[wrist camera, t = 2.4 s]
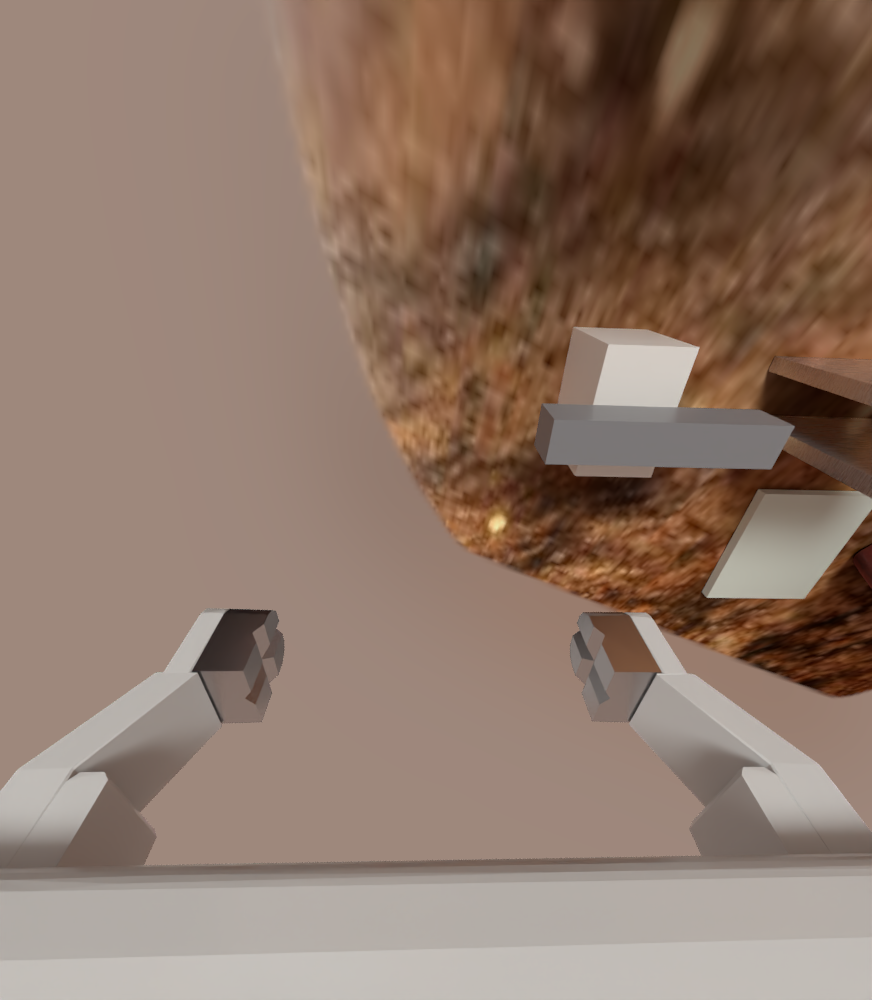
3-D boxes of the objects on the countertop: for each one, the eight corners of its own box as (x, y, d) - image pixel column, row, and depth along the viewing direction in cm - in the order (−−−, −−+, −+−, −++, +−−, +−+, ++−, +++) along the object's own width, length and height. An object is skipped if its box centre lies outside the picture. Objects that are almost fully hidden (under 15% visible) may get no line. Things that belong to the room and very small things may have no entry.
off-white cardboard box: (646, 329, 26) (699, 347, 21) (613, 440, 30) (650, 477, 25) (572, 326, 26) (608, 344, 21) (549, 438, 30) (574, 475, 25)
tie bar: (759, 409, 21) (795, 426, 19) (740, 450, 23) (770, 469, 20) (542, 403, 21) (554, 419, 19) (534, 444, 22) (545, 464, 20)
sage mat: (872, 491, 33) (881, 496, 33) (797, 592, 40) (804, 598, 39) (758, 489, 33) (765, 494, 32) (701, 591, 39) (706, 597, 39)
